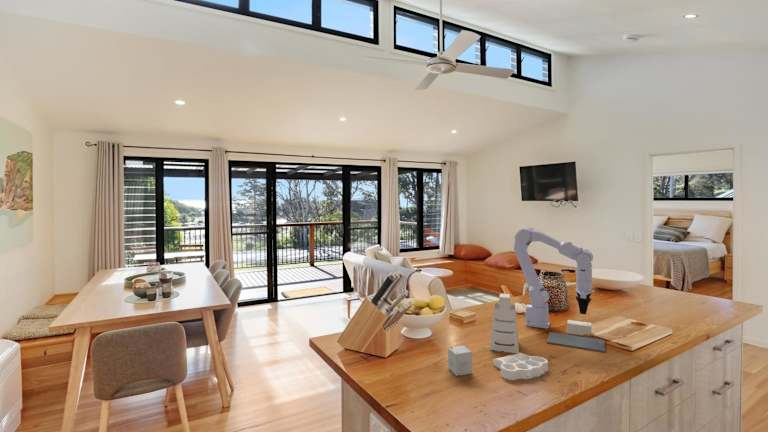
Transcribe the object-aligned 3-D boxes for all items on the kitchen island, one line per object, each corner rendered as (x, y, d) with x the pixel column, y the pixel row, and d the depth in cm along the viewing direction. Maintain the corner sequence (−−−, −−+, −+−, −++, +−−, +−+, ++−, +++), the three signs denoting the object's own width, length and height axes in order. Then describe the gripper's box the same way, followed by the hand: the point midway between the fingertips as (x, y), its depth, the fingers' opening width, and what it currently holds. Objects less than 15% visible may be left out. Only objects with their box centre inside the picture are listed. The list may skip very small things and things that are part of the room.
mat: (546, 343, 151) (546, 341, 151) (549, 333, 162) (549, 331, 162) (604, 352, 142) (604, 350, 142) (604, 341, 152) (604, 339, 152)
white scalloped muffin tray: (525, 357, 139) (558, 374, 125) (485, 367, 131) (516, 386, 118) (525, 348, 139) (558, 364, 125) (485, 357, 131) (516, 376, 118)
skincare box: (472, 373, 126) (472, 351, 126) (455, 376, 124) (455, 354, 124) (463, 366, 132) (463, 345, 132) (447, 368, 130) (447, 347, 130)
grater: (518, 343, 152) (519, 293, 151) (518, 353, 142) (519, 300, 141) (491, 340, 155) (491, 291, 154) (489, 350, 145) (489, 298, 144)
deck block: (567, 333, 162) (567, 323, 162) (567, 330, 166) (567, 319, 166) (591, 337, 157) (591, 326, 157) (591, 333, 162) (591, 322, 162)
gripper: (595, 284, 152) (594, 317, 153) (594, 277, 165) (593, 308, 166) (575, 282, 155) (574, 315, 156) (576, 275, 168) (575, 305, 169)
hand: (583, 311), depth 161 cm, fingers open, 7 cm apart
